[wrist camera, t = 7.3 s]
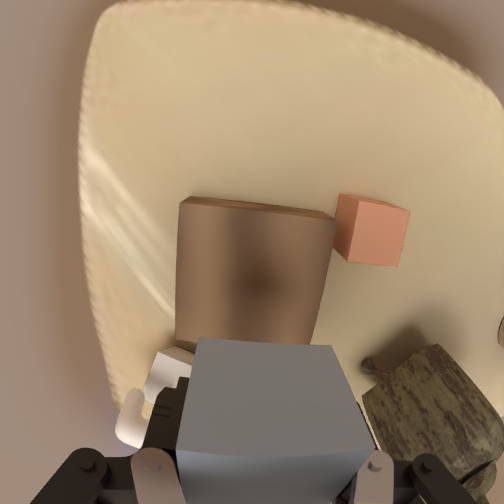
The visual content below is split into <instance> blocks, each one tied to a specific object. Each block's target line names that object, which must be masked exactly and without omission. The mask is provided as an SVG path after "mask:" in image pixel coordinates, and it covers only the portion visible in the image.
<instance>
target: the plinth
mask: <svg viewBox="0 0 504 504" xmlns="http://www.w3.org/2000/svg"><path fill="white" fill-rule="evenodd" d="M336 226H337V221H336V220H334V219H333V218H331V217H330V216H328V215H327V214H325V213H323V212H320V211H313V210H306V209H298V208H291V207H283V206H275V205H267V204H259V203H251V202H242V201H233V200H223V199H213V198H203V197H192V196H190V197H188V198H187V199H185V200H184V201H182V202H181V203H180V206H179V220H178V237H177V259H176V295H175V339H176V340H183V341H190V342H198V338H199V337H206V338H215V339H225V340H235V341H247V342H260V343H276V344H296V345H310V341H311V338H312V334H313V330H314V326H315V322H316V318H317V314H318V310H319V306H320V302H321V298H322V293H323V289H324V285H325V280H326V276H327V271H328V266H329V261H330V257H331V252H332V247H333V242H334V236H335V231H336Z"/></svg>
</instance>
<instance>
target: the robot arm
mask: <svg viewBox="0 0 504 504" xmlns="http://www.w3.org/2000/svg"><path fill="white" fill-rule="evenodd" d="M498 341H499V344H500V345H501V346H503V347H504V319H503V321H502V324H501V326H500V330H499V335H498ZM189 379H190V378H189V377H182V376H180V377H179V379H178V383H177V387H176V388H170V387H164V388H163V389H162V391H161V392H160V393H159V394H158V395H157V397H156V401H155V404H154V407H153V410H152V415H151V417H150V420H149V424H148V427H147V431H146V434H145V438H144V441H143V444H142V446H141V448H140V449H139V450H138V451H137V452H136V453H134V454H133V455H130V456H127V457H104V456H103V455H102V454H101V453H100V452H98V451H97V450H95V449H91V448H80V449H77V450H75V451H74V452H72V453H71V455H70V456H69V457H68V458H67V459H66V460H65V462H64V463H63V464H62V465H61V467H60V468H59V469H58V470H57V471H56V473H55V474H54V475H53V476H52V477H51V479H50V480H49V481H48V482H47V483H46V485H45V486H44V487H43V488H42V490H41V491H40V492H39V493H38V494H37V496H36V497H35V498H34V499H33V500H32V502H31V503H30V504H186V501H185V498H184V495H183V492H182V489H181V482H180V476H179V470H178V463H177V456H176V445H177V439H178V434H179V429H180V424H181V418H182V413H183V408H184V403H185V398H186V393H187V389H188V384H189ZM356 402H357V401H356ZM357 404H358V407H359V409H360V411H361V414H362V416H363V418H364V421H365V423H366V425H367V428H368V430H369V433H370V435H371V437H372V440H373V442H374V445H375V447H376V448H375V449H374V450H373V452H372V453H371V455H370V456H369V457H368V459H367V460H366V461H365V463H364V464H363V465H362V467H361V468H360V469H359V470H358V472H357V473H356V474H355V475H354V477H353V478H352V479H351V480H350V482H349V483H348V484H347V485H346V486H345V488H344V489H343V490H342V491H341V492H340V493H339V494H338V496H337V497H336V498H335V499H334V500H333V501H332V504H425V503H424V501H425V502H426V503H427V504H478V503H477V502H476V501H475V500H474V499H473V497H472V496H471V495H470V494H469V493H468V492H467V490H466V489H465V488H464V487H463V486H462V485H461V484H460V482H459V481H458V480H457V479H456V478H455V477H454V476H453V474H452V473H451V472H450V471H449V470H448V469H447V468H446V466H445V465H444V464H443V463H442V462H441V461H440V459H439V458H438V457H436V456H435V455H433V454H429V453H423V454H420V455H418V456H417V457H416V458H415V459H414V460H413V461H401V460H393V459H392V458H391V457H390V456H389V455H388V454H387V453H385V452H383V451H380V450H379V449H378V447H377V445H376V443H375V440H374V438H373V435H372V433H371V431H370V428H369V426H368V424H367V422H366V419H365V417H364V415H363V412H362V410H361V407H360V405H359V403H358V402H357ZM419 494H420V496H421V497H422V498H423V499H424V501H423V500H422V499H421V497H420V496H419Z"/></svg>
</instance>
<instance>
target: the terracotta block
mask: <svg viewBox="0 0 504 504" xmlns="http://www.w3.org/2000/svg"><path fill="white" fill-rule="evenodd" d="M409 215H410V211H409V210H406V209H403V208H400V207H397V206H395V205H392V204H389V203H386V202H381V201H376V200H371V199H366V198H361V197H355V196H350V195H344V194H339V200H338V206H337V212H336V218H335V220H336V221H337V226H336V231H335V236H334V242H333V248H334V249H335V250H336V251H337V252H338V253H339V254H340V255H341V256H342V257H343V258H344V259H345V260H346V261H347V262H355V263H365V264H374V265H383V266H393V267H398V263H399V259H400V255H401V251H402V247H403V243H404V239H405V234H406V230H407V225H408V220H409Z"/></svg>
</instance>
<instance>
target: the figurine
mask: <svg viewBox="0 0 504 504" xmlns="http://www.w3.org/2000/svg"><path fill="white" fill-rule="evenodd" d="M194 356H195V354H193V353H191V352H188V351H186V350H184V349H181V348H179V347H177V346H174V347H171V348H168V349H165V350H161V351H158V352H157V355H156V357H155V360H154V362H153V365H152V367H151V370H150V372H149V375H148V378H147V380H146V383H145V385H144V388H143V390H140V389H137V388H134V389H132V390H130V391H129V393H128V394H127V397H126V399H125V401H124V404H123V406H122V409H121V411H120V413H119V416H118V419H117V422H116V428H115V432H116V435H117V437H118V438H119V439H120V440H121V441H122V442H125V443H126V444H129V445H131V446H134V447H136V448H139V449H140V448H141V446H142V444H143V441H144V438H145V434H146V431H147V427H148V424H149V420H147V419H145V418H143V417H142V415H141V412H142V408H143V405H144V402H145V401H147V402H149V403H151V404H155V401H156V397H157V395H158V394H159V393H160V392H161V391H162V389H163V388H164V387H170V388H176V387H177V383H178V379H179V377H180V376H182V377H189V378H190V374H191V370H192V365H193V360H194ZM181 489H182V488H181Z"/></svg>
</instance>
